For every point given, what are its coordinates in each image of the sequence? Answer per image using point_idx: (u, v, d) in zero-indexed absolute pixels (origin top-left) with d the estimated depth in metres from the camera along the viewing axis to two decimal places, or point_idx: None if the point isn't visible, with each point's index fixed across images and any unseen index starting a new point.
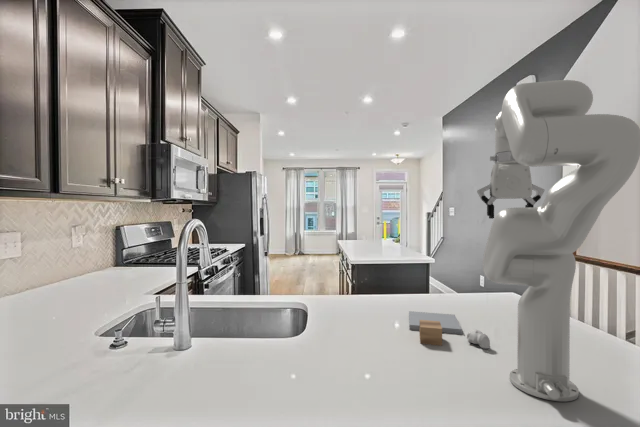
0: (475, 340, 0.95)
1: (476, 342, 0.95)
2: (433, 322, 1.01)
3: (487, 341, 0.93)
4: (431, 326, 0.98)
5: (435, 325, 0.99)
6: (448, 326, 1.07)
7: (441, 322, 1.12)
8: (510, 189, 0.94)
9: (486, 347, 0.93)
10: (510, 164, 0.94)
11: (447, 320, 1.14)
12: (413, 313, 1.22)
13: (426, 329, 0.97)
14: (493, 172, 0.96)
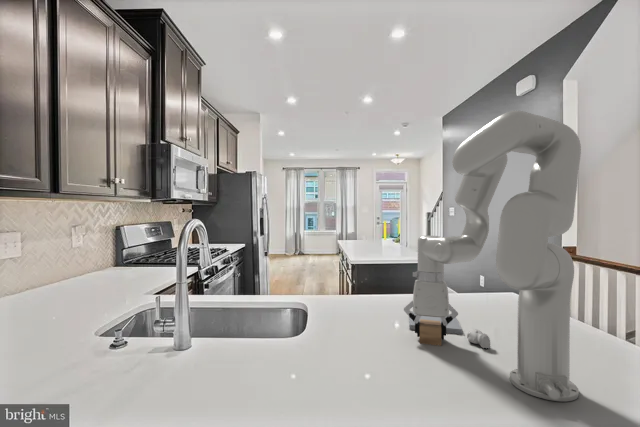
0: (476, 340, 0.95)
1: (476, 342, 0.95)
2: (433, 322, 1.01)
3: (487, 341, 0.93)
4: (431, 326, 0.98)
5: (435, 324, 0.99)
6: (448, 326, 1.07)
7: None
8: (429, 309, 0.97)
9: (487, 347, 0.93)
10: (428, 284, 0.98)
11: None
12: (413, 313, 1.22)
13: (425, 329, 0.97)
14: (414, 289, 0.99)
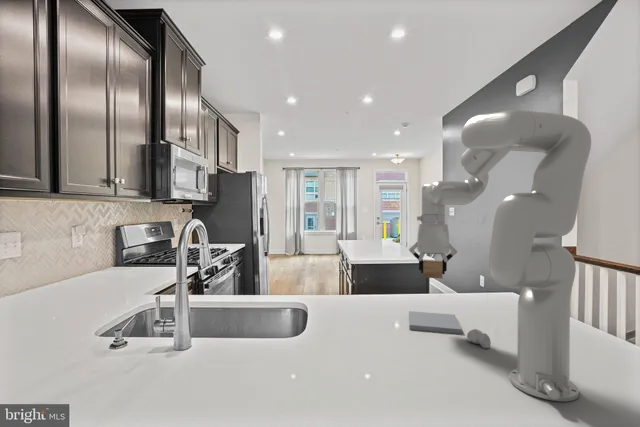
0: (476, 340, 0.96)
1: (477, 342, 0.96)
2: (435, 260, 1.14)
3: (488, 340, 0.93)
4: (433, 262, 1.11)
5: (437, 261, 1.12)
6: (448, 326, 1.07)
7: (441, 322, 1.12)
8: (431, 247, 1.10)
9: (487, 346, 0.93)
10: (431, 225, 1.10)
11: (447, 320, 1.14)
12: (413, 313, 1.22)
13: (428, 264, 1.10)
14: (418, 231, 1.12)
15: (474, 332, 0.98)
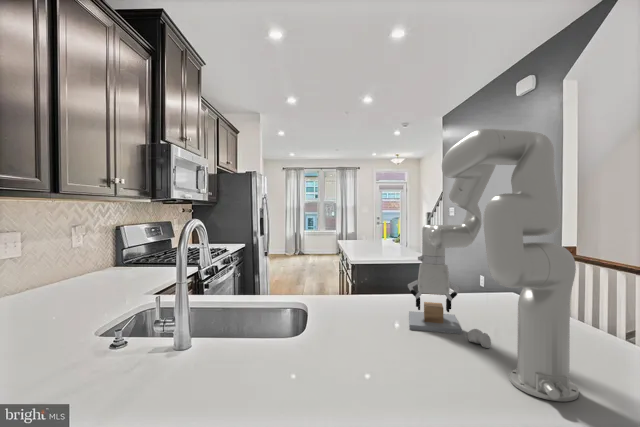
0: (476, 339, 0.96)
1: (477, 341, 0.96)
2: (436, 303, 1.16)
3: (488, 340, 0.94)
4: (434, 306, 1.12)
5: (437, 306, 1.14)
6: (448, 326, 1.07)
7: None
8: (432, 288, 1.12)
9: (487, 346, 0.94)
10: (431, 266, 1.12)
11: (447, 320, 1.14)
12: (413, 313, 1.22)
13: (429, 309, 1.12)
14: (419, 271, 1.14)
15: (474, 332, 0.98)
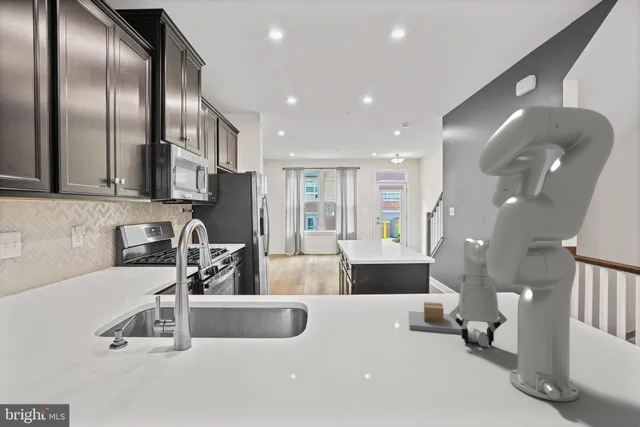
0: (474, 338, 0.96)
1: (475, 340, 0.96)
2: (436, 303, 1.16)
3: (486, 339, 0.94)
4: (434, 306, 1.12)
5: (437, 306, 1.14)
6: (448, 326, 1.07)
7: None
8: (477, 314, 0.94)
9: (485, 345, 0.94)
10: (476, 288, 0.94)
11: (447, 320, 1.14)
12: (413, 313, 1.22)
13: (429, 309, 1.12)
14: (461, 293, 0.96)
15: (472, 331, 0.98)
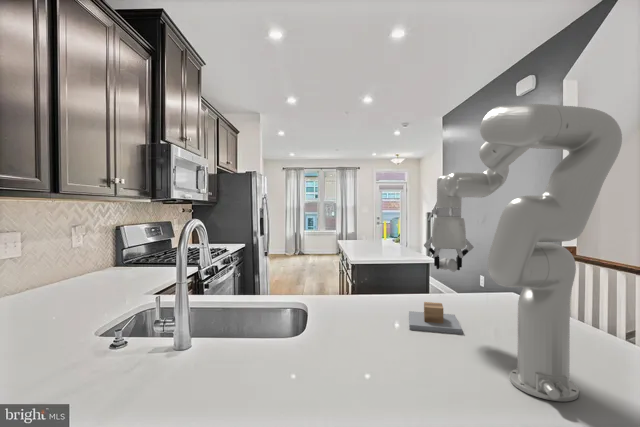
0: (445, 265, 1.08)
1: (445, 267, 1.08)
2: (436, 303, 1.16)
3: (455, 264, 1.06)
4: (434, 306, 1.12)
5: (437, 306, 1.14)
6: (448, 326, 1.07)
7: None
8: (447, 242, 1.06)
9: (454, 269, 1.06)
10: (447, 219, 1.06)
11: (447, 320, 1.14)
12: (413, 313, 1.22)
13: (429, 309, 1.12)
14: (433, 225, 1.08)
15: (444, 259, 1.10)
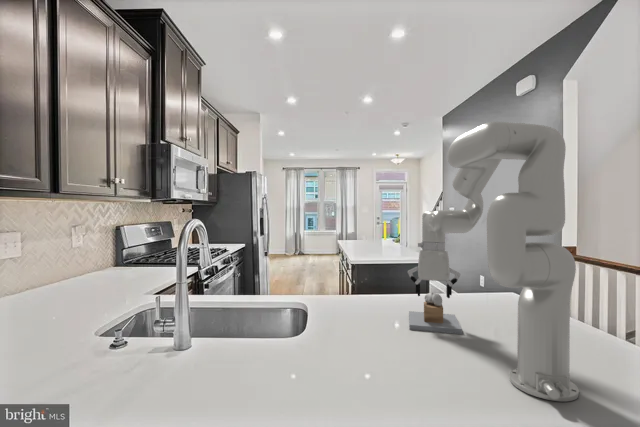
0: (431, 300, 1.14)
1: (431, 301, 1.14)
2: None
3: (440, 299, 1.12)
4: (434, 306, 1.13)
5: None
6: (448, 326, 1.07)
7: None
8: (432, 274, 1.12)
9: (439, 304, 1.12)
10: (431, 253, 1.13)
11: (447, 320, 1.14)
12: (413, 313, 1.22)
13: (429, 309, 1.12)
14: (419, 257, 1.14)
15: (430, 294, 1.16)
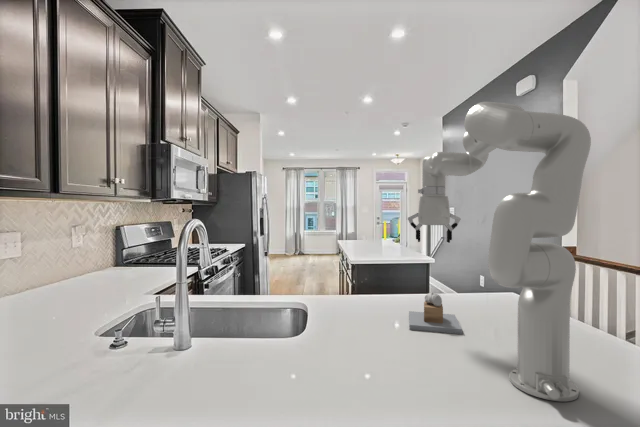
0: (430, 300, 1.14)
1: (431, 301, 1.14)
2: None
3: (439, 300, 1.12)
4: (433, 306, 1.13)
5: None
6: (448, 326, 1.07)
7: None
8: (432, 218, 1.12)
9: (438, 305, 1.12)
10: (432, 197, 1.13)
11: (447, 320, 1.14)
12: (413, 313, 1.22)
13: (429, 309, 1.12)
14: (419, 203, 1.15)
15: (430, 294, 1.16)
